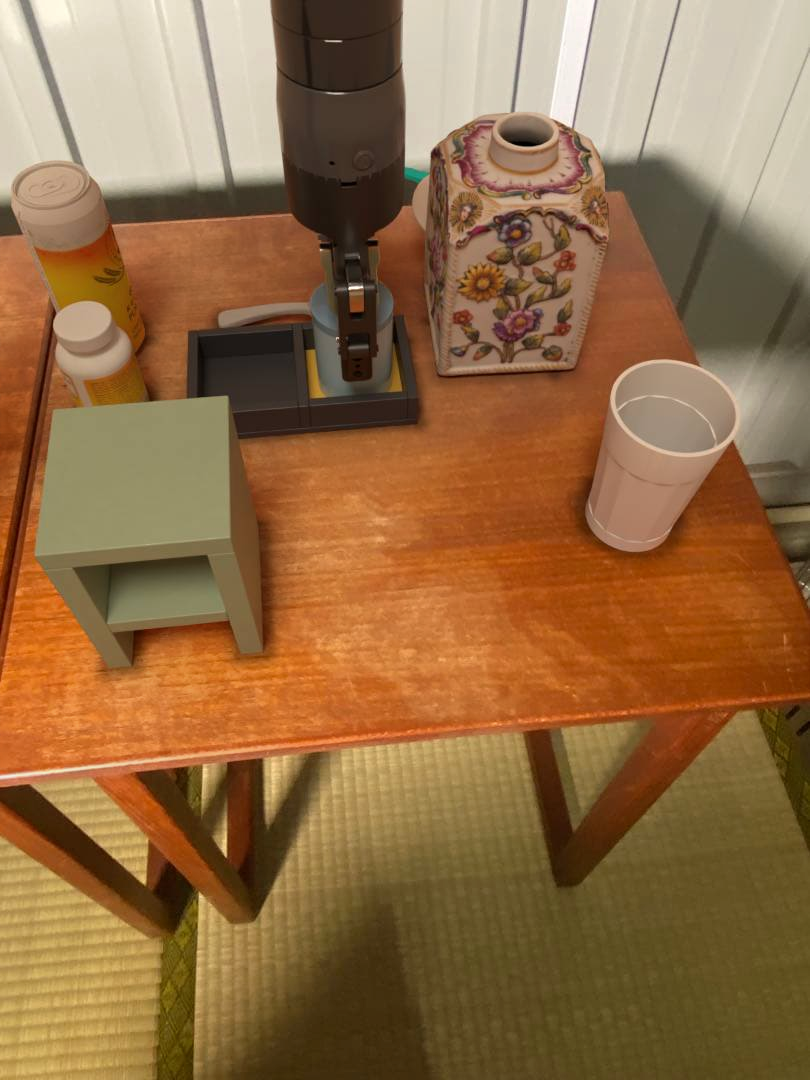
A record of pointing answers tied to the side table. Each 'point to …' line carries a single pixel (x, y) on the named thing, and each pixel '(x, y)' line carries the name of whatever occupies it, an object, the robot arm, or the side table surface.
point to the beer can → (74, 241)
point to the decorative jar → (513, 244)
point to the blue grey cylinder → (328, 347)
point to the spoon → (260, 313)
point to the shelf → (150, 522)
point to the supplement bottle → (96, 357)
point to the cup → (657, 450)
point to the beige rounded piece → (421, 203)
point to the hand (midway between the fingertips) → (351, 336)
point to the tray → (291, 381)
